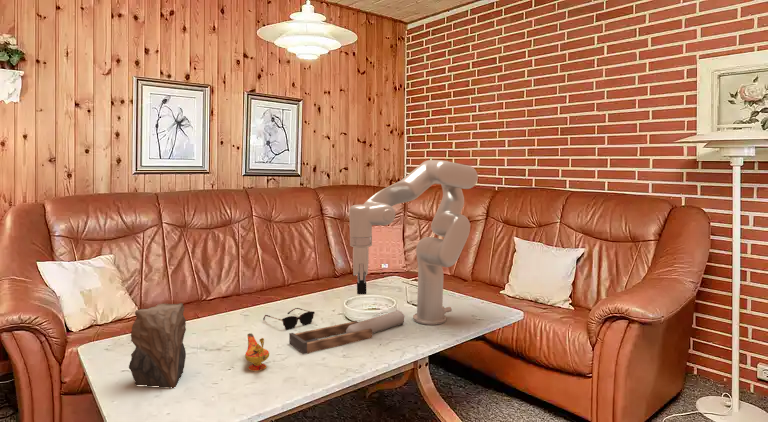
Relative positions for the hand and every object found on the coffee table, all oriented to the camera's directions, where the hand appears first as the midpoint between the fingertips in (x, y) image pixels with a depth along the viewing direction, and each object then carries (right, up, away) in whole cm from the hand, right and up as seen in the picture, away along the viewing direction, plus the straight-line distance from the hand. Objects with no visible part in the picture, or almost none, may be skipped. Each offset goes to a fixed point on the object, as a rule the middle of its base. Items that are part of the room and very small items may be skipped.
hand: (361, 293), depth 174 cm
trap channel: (-10, -15, -5) cm, 19 cm away
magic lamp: (-30, -17, -25) cm, 43 cm away
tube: (+4, -15, +5) cm, 16 cm away
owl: (-53, -18, -36) cm, 67 cm away
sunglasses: (-28, -13, +14) cm, 34 cm away
